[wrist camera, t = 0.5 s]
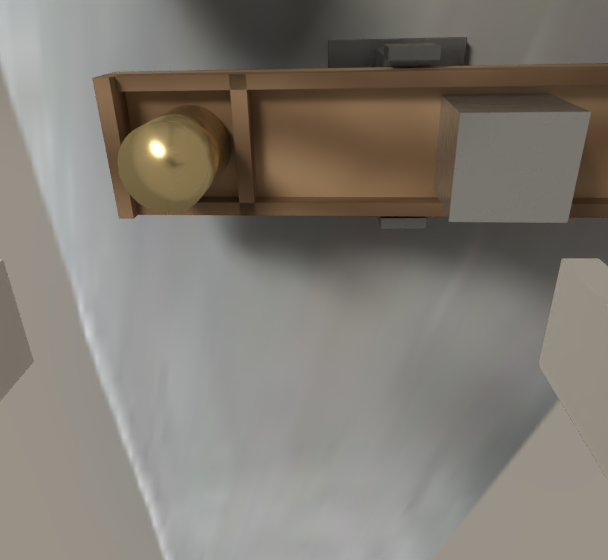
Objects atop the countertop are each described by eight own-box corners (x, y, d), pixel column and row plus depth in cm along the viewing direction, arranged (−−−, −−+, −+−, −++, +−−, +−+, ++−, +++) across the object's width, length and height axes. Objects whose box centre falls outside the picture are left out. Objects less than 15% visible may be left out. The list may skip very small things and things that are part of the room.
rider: (441, 95, 26) (460, 112, 21) (549, 93, 25) (591, 111, 21) (433, 188, 28) (448, 222, 23) (532, 188, 27) (567, 222, 23)
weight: (150, 105, 27) (109, 123, 22) (227, 104, 27) (202, 122, 22) (161, 182, 29) (126, 213, 24) (234, 182, 28) (211, 213, 24)
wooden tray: (115, 71, 27) (92, 78, 25) (733, 61, 25) (775, 66, 22) (138, 201, 31) (119, 218, 28) (687, 203, 28) (720, 222, 26)
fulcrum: (328, 40, 32) (328, 48, 25) (463, 37, 31) (503, 44, 24) (328, 186, 36) (328, 229, 29) (448, 185, 35) (478, 228, 28)
